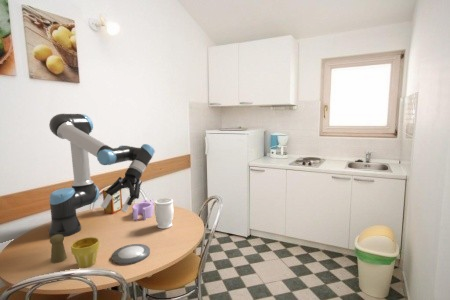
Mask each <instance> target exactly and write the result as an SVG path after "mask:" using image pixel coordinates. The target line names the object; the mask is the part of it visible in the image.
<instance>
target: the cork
mask: <svg viewBox="0 0 450 300" xmlns="http://www.w3.org/2000/svg"><path fill="white" fill-rule="evenodd" d="M64 240H65V236H63V235H61V234H57V235H54V236H52V237H51V236H50V238H49V243H50V244H51V250H50V251H51V253H50V263H52V264H57V263H62V262H64V261H66V260H67V258H68V256H67V253H66V250H65V244H64Z"/></svg>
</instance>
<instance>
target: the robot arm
mask: <svg viewBox="0 0 450 300" xmlns="http://www.w3.org/2000/svg"><path fill="white" fill-rule="evenodd" d="M48 127H49V130H50V132H51V133H52V134H53V135H55V136H56V137H58V138H59V139H60V140H61V139H62V140H67V141H68V142H69V143H70V152H71V163H72V173H73V183H72V184H71V187H64V188H63V187H62V188H59V189H56V190H54V191H52V192H51V193H50V195H49V200H48V201H49V206H50V216H51V218H50V219H51V222H50V225H49V229H48V236H49V237H50V238H51V237H52V236H54V235H57V234H61V235H63V236H64V237H69V236H71V235H74V234H77V233H78V232H80V231H81V230H82V226H81V222H80V220H79V218H78V216H77V209H82V208H84V207H86V206H89V205H91V204H93V203H96V202H97V200H98V199H99V196H100V189H99V187H98V185H97V184H95V182H94V180H92V178H91V171H90V169H91V168H90V159H89V154H91V155H93V156H95V157H96V158H97V162H98V163H99V164H100V165H101V166H111V165H114V164H118V163H123V162H127V161H129V162H130V161H131V163H130V164H129V166H128V168H127V170H126V171H125V173H124V177H121V176H118V178H117V179H116V181H114V182H113V183H112V184H111V185H110V186H109V187H108V188H106V189H107V190H106V191H105V192H106V193H107V195H106V197H105V199H104V200H103V201H102V203H101V204H100V207H101V208H103V210H104V209H106V207H107V205H108V204H109V202H110V200H111V199H112V195H114V194H115V193H116V192H118V191H119V190H121V191H122V189H125V188H126V189H128V191H129V196H128V197H127V199H126V200H125V202H124V204H122V209H121V210H120V211H122V212H123V213H127V211H128V210H129V208H130V206H131V205H132V204H133V202H134V200H138V199H140V193H141V185H142V182H143V181H142V180H141V177H142V175H143V174H144V172H145V170H146V169H147V167H148V165H149V163H150V161H151V160H152V159H153V156H154V154H155V151H156V150H155V148H154V147H153V146H152V145H150V144H148V143H143V144H142V145H141V146H140V147H135V146H130V145H123V144H122V145H119V146H118V147H115V148H113V147H111V146H109V145H107V144H105V143H104V142H102V141H100V140H99V139H97V138H94V137H93V136H92V135H90V134H91V133H92V132H93V131H92V130H94V123H93V120H92V119H91V117H89V116H88V115H86V114H83V113H58V114H56V115H53V116H52V117H51V118H50V120H49V126H48Z"/></svg>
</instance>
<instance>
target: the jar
mask: <svg viewBox="0 0 450 300" xmlns="http://www.w3.org/2000/svg"><path fill="white" fill-rule="evenodd" d="M153 202H154V204H155V206H154V215H155V216H154V217H155V220H156V222H157V228H158V229H162V230H163V229H164V230H165V229H169V228H172V227H173V219H174V214H175V211H174V204H173V202H174V199H173V198H170V197H163V198H159V199H156V200H154V201H153Z"/></svg>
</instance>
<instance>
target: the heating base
mask: <svg viewBox="0 0 450 300" xmlns="http://www.w3.org/2000/svg"><path fill="white" fill-rule="evenodd" d="M150 253H151V250H150V247H149V246H148V245H146V244H144V243H143V244H142V243H134V244H133V243H131V244H128V245H124V246H121V247H119V248H118V249H116V250H114V252H113V253H112V254H111V259H112V262H113V263H115V264H117V265H124V266H125V265H133V264H136V263H139V262H141V261H144V260H145V259H147V258H148V257H149V255H150Z"/></svg>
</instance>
